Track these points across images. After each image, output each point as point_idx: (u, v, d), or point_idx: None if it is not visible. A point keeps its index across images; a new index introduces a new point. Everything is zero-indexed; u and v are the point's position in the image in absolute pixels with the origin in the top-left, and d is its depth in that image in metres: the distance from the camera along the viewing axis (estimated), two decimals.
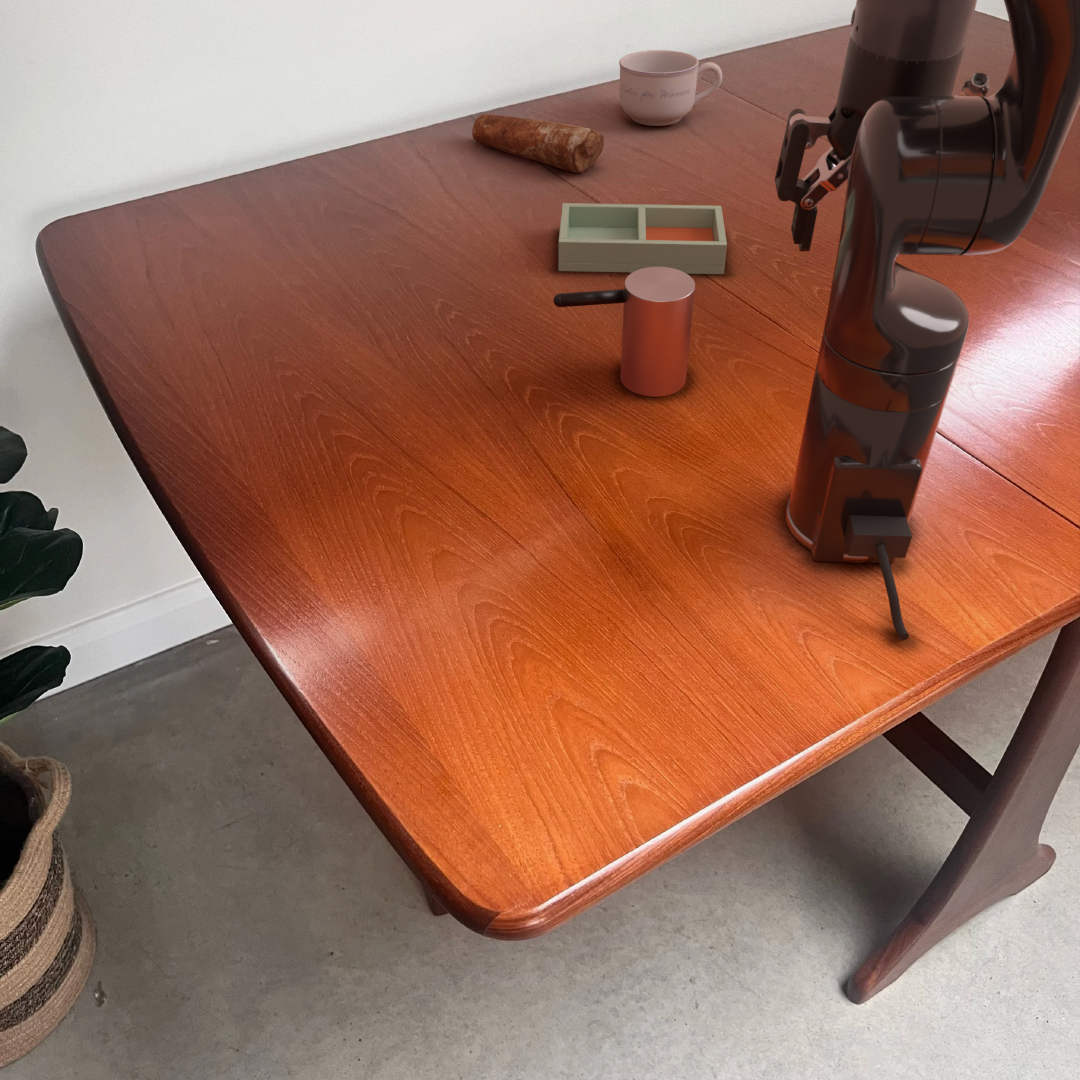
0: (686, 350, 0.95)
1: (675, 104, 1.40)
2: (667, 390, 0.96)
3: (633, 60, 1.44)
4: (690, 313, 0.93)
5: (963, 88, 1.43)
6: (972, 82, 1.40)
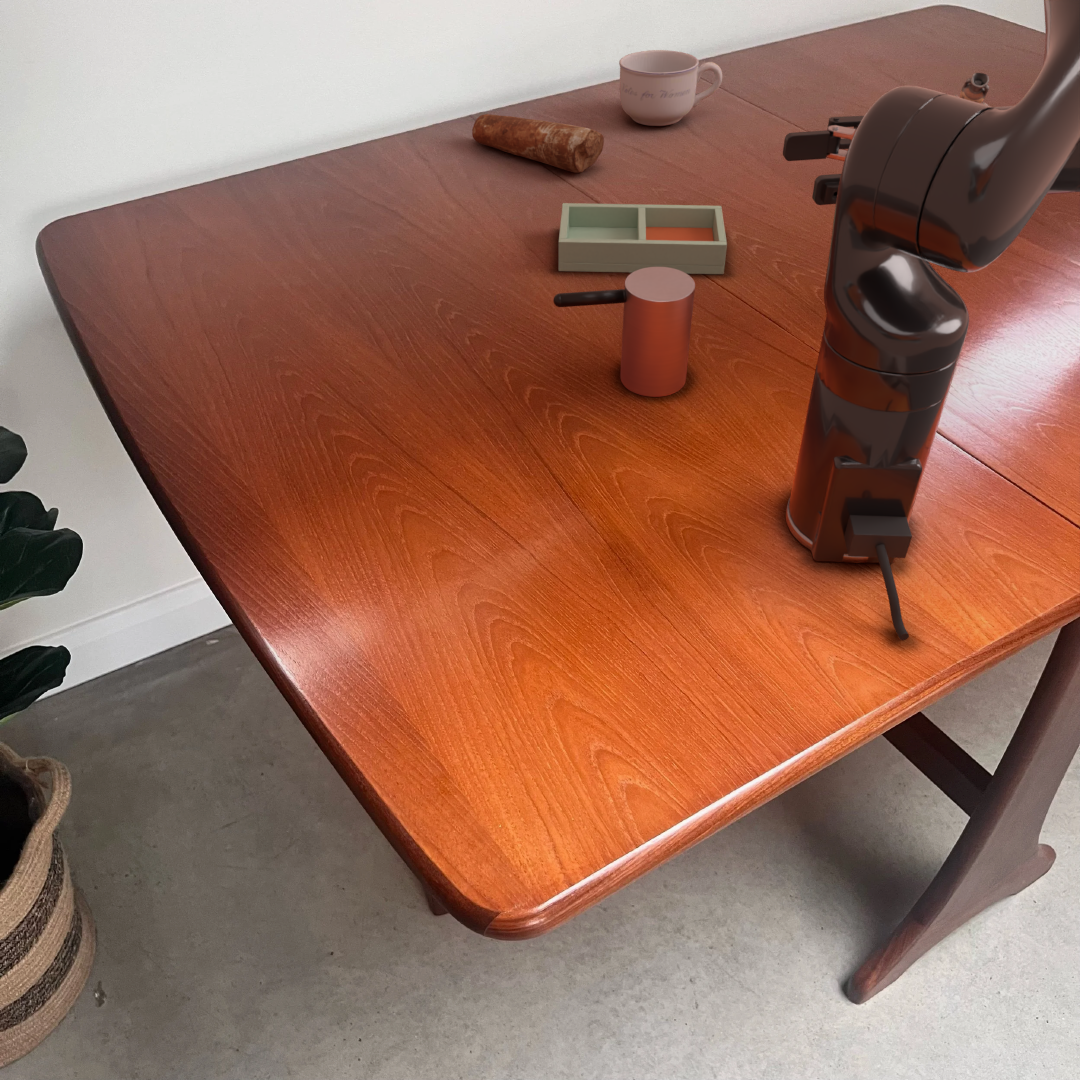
0: (686, 350, 0.95)
1: (675, 104, 1.40)
2: (667, 390, 0.96)
3: (633, 60, 1.44)
4: (690, 313, 0.93)
5: (963, 88, 1.43)
6: (972, 82, 1.40)
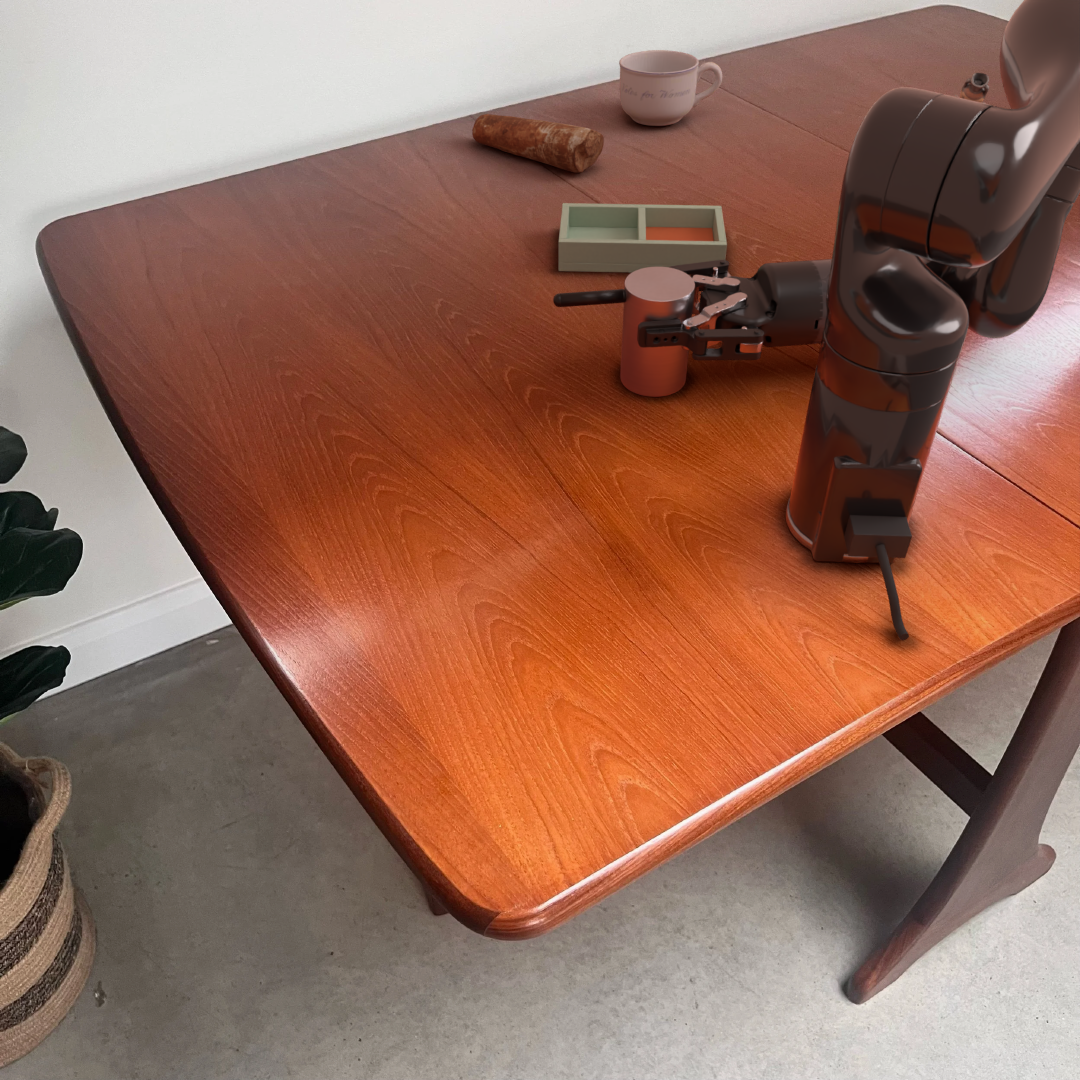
0: (686, 350, 0.95)
1: (675, 104, 1.40)
2: (667, 390, 0.96)
3: (633, 60, 1.44)
4: (690, 313, 0.93)
5: (963, 88, 1.43)
6: (972, 82, 1.40)
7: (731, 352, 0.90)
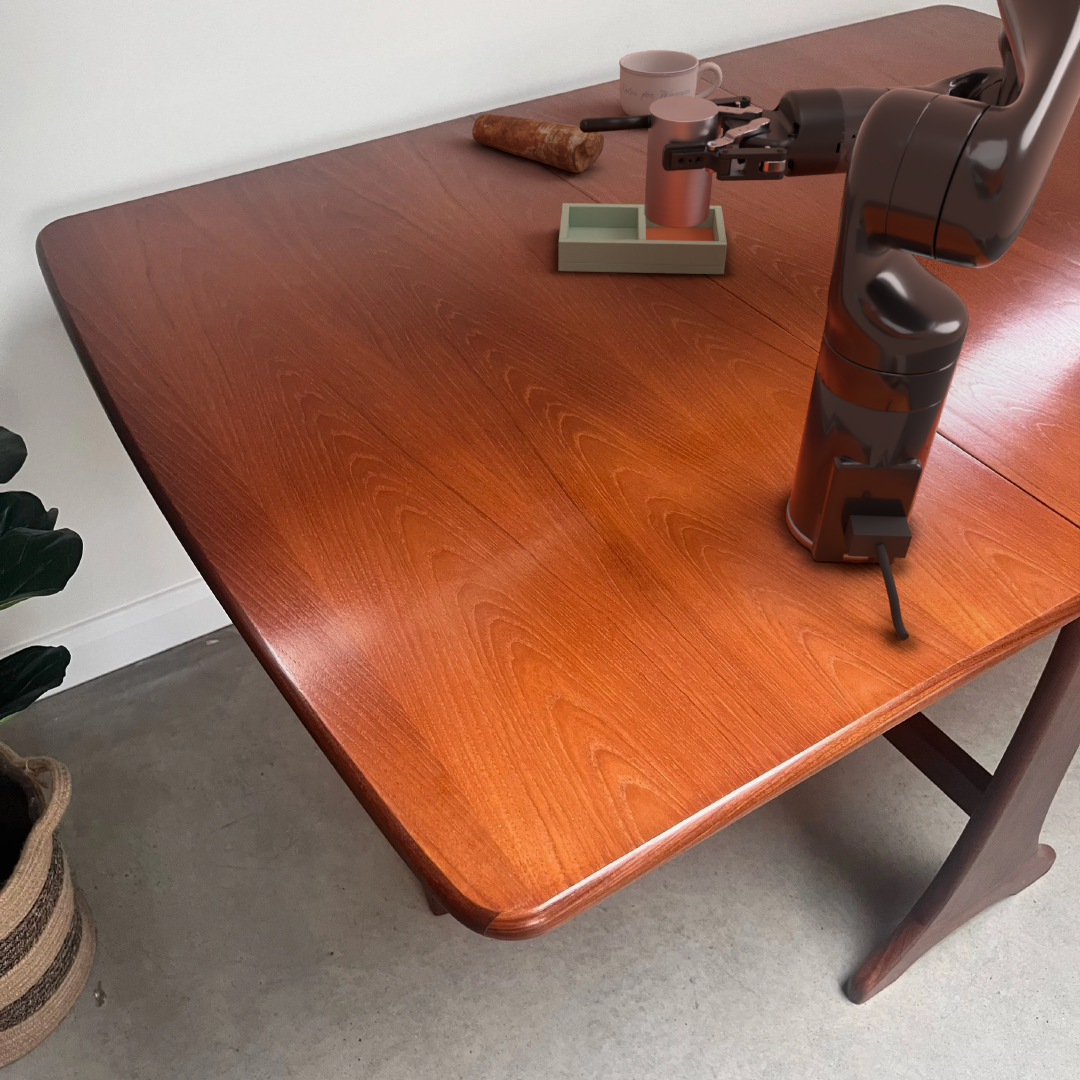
0: (709, 179, 0.97)
1: None
2: (691, 221, 0.98)
3: (633, 60, 1.44)
4: (714, 138, 0.94)
5: None
6: None
7: (755, 171, 0.91)
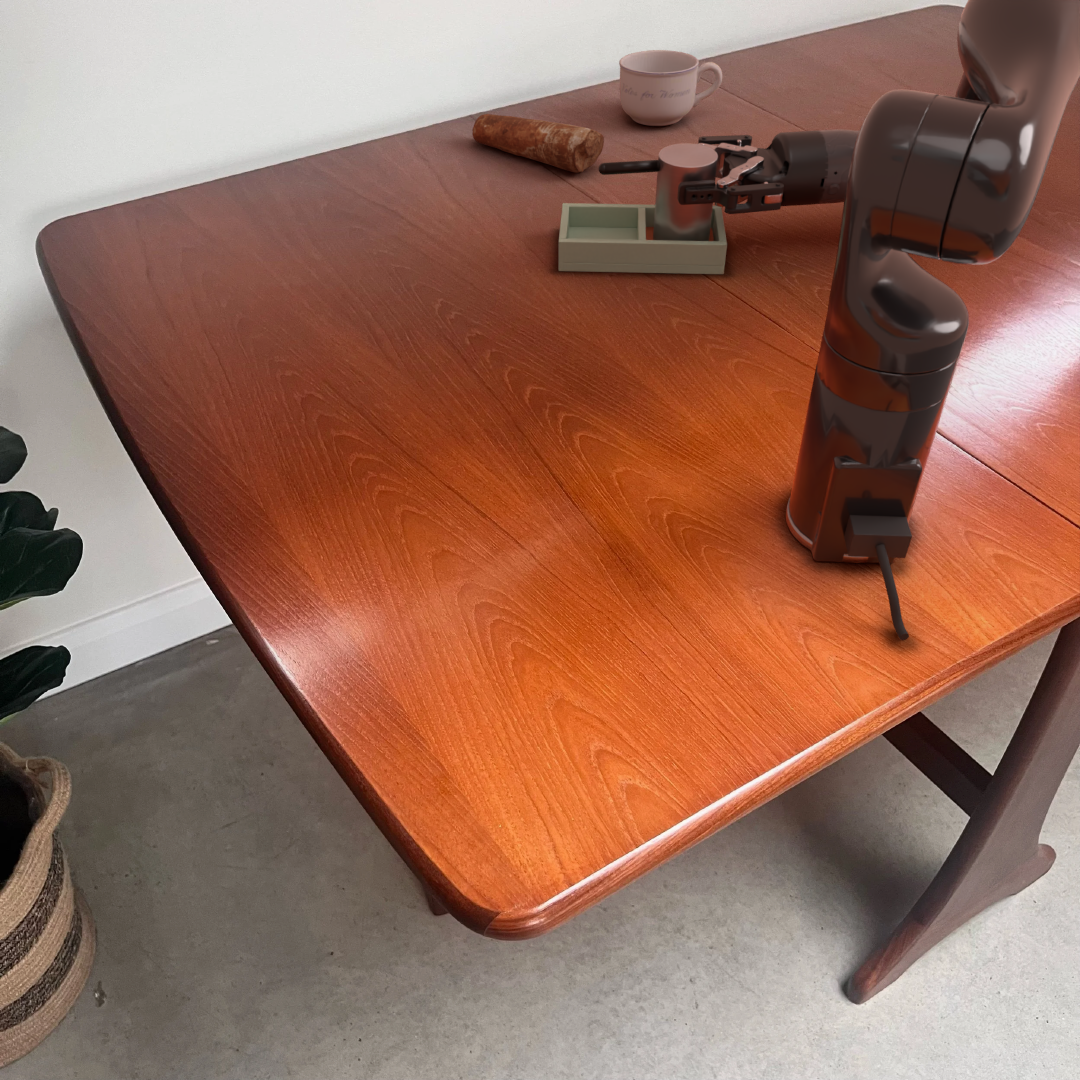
0: (709, 214, 1.12)
1: (675, 104, 1.40)
2: None
3: (633, 60, 1.44)
4: None
5: None
6: None
7: (758, 204, 1.07)
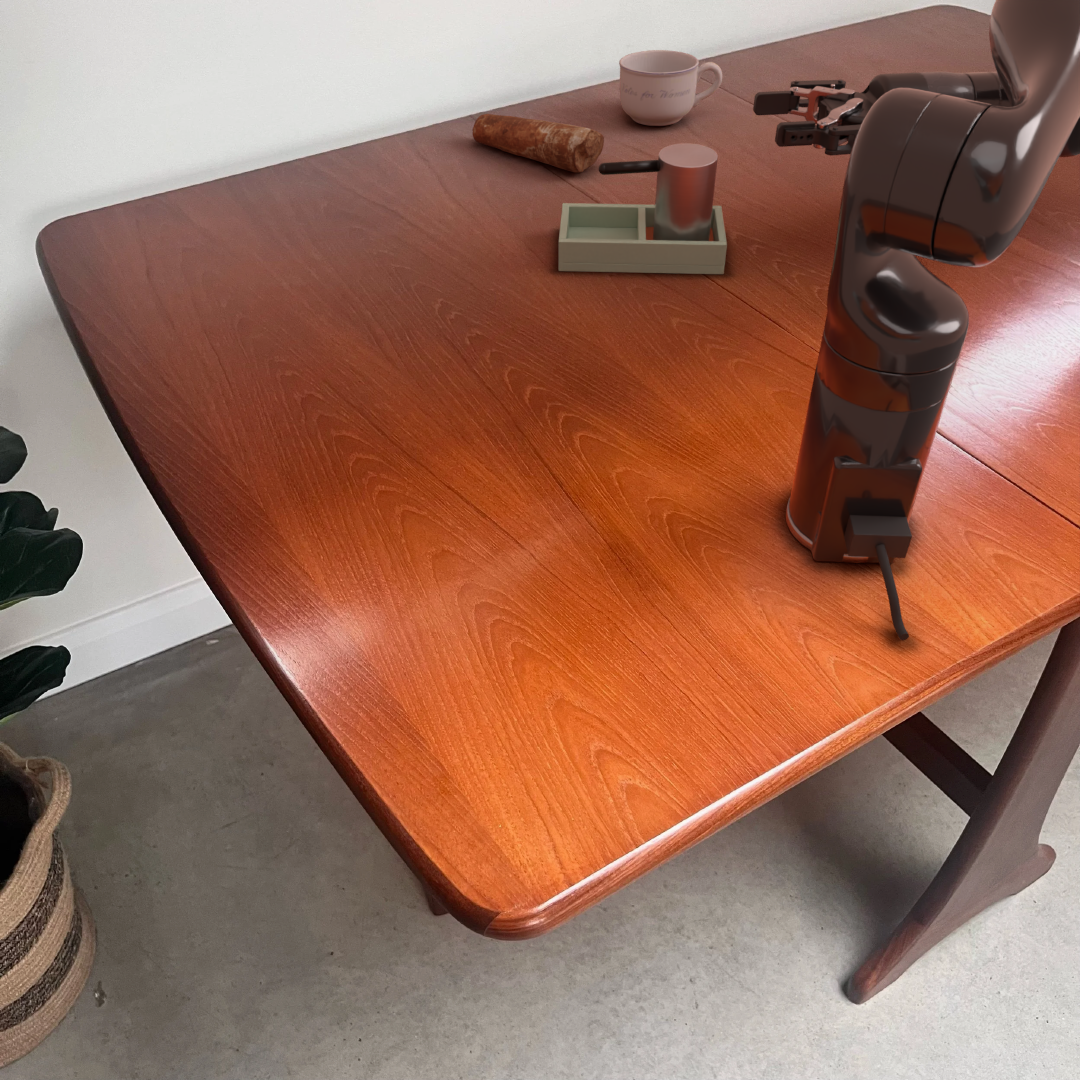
0: (709, 214, 1.12)
1: (675, 104, 1.40)
2: None
3: (633, 60, 1.44)
4: (713, 180, 1.10)
5: None
6: None
7: None
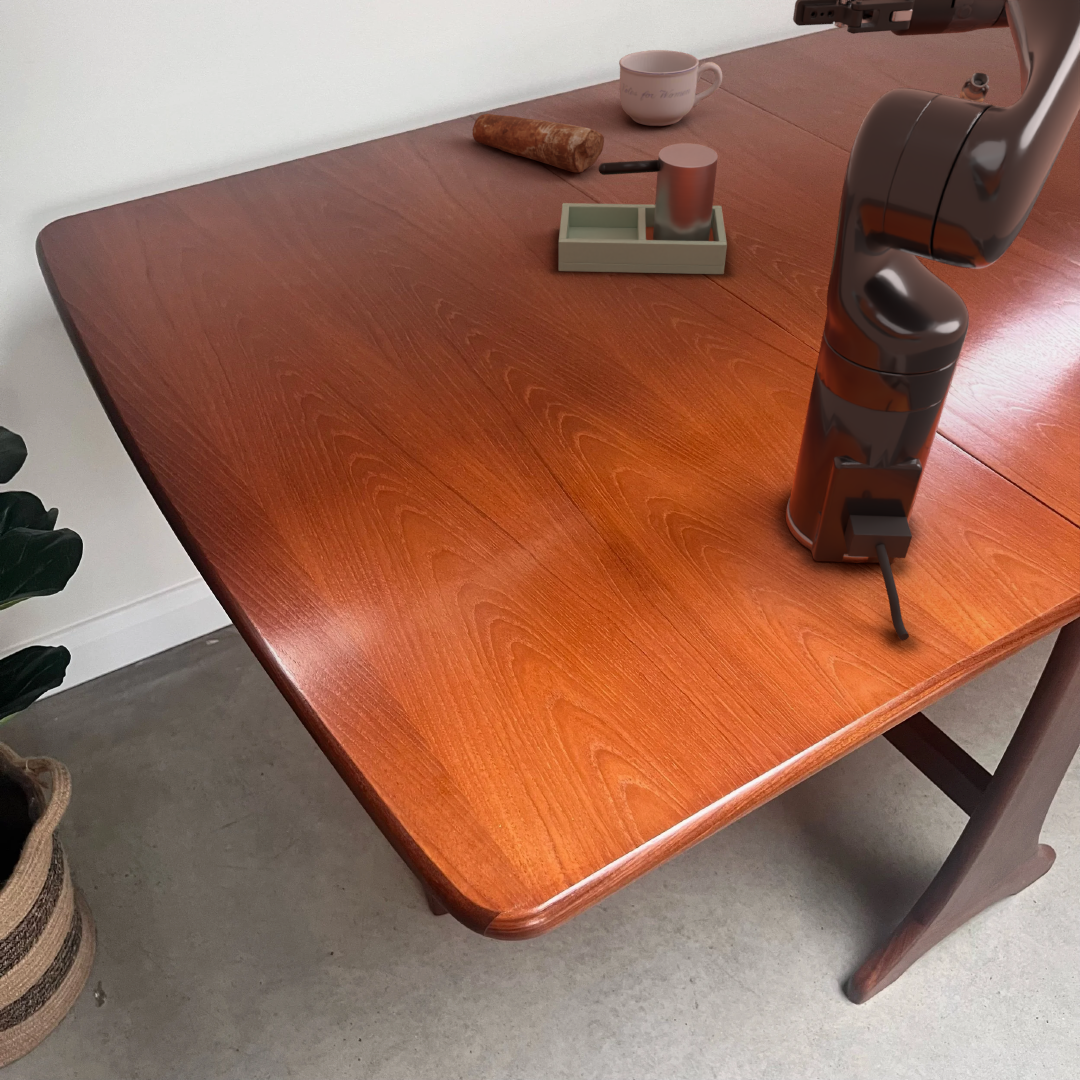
0: (709, 214, 1.12)
1: (675, 104, 1.40)
2: None
3: (633, 60, 1.44)
4: (713, 180, 1.10)
5: (963, 88, 1.43)
6: (972, 82, 1.40)
7: (885, 21, 0.96)
